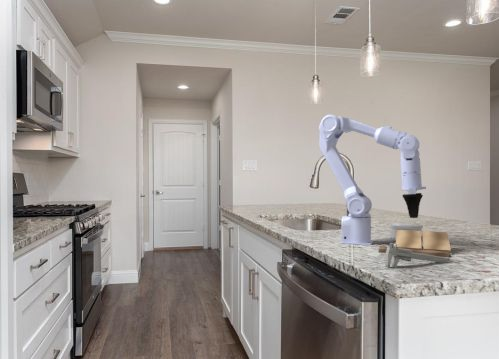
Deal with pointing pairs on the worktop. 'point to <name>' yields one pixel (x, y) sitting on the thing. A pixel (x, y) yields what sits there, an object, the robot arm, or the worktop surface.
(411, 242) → the left plank
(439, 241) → the right plank
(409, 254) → the caliper
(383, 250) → the floor panel
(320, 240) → the worktop surface
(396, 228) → the ramekin
